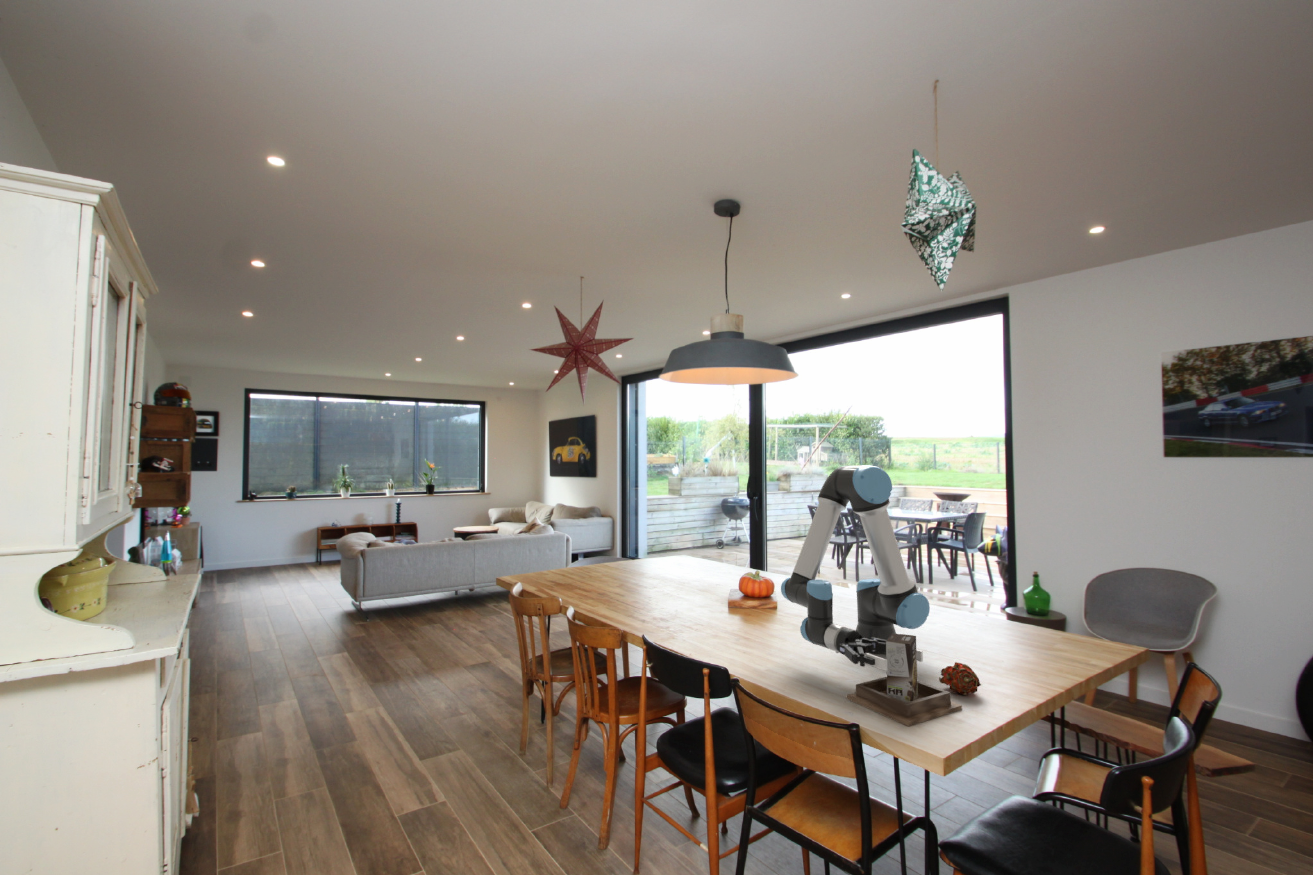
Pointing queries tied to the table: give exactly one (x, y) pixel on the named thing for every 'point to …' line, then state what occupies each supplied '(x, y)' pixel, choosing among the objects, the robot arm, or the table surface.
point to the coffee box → (902, 667)
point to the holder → (910, 713)
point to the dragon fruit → (960, 678)
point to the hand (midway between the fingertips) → (904, 660)
